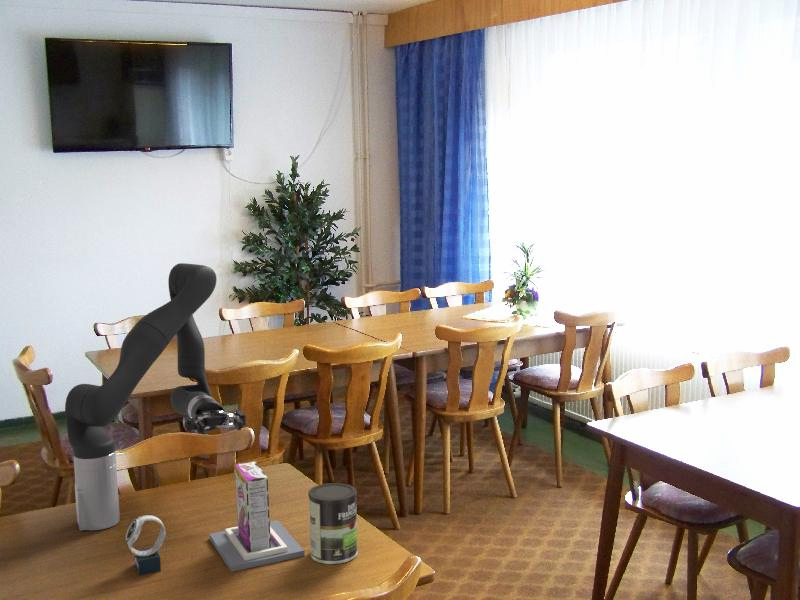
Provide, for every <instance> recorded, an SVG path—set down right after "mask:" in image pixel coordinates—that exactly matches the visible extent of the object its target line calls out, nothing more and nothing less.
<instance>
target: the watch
mask: <svg viewBox="0 0 800 600" xmlns="http://www.w3.org/2000/svg"><path fill="white" fill-rule="evenodd" d="M150 521H152V522H153V521H154V522H156V523H158V524H160V525H161V527H160V531H159V534H158V537H157V538H156V541H155V542H154V546H150V547H145V548H140V549H136V548H134V547H133V544H135V542H136V541H137V540H138V538H139V537H140V534H141V531H142V528H143V525H144V524H145V522H150ZM166 535H167V532H166V527H165V525H164V523H163V521H162V520H161V519H160V518H159V517H157V516H155V515H148V514H146V515H142V516H141V515H140V516H138V518H134V519H133V520H132V521H131V522H130V524H129V526H128V528H127V530H126V533H125V537H124V539H125V540H124V541H125V543H127V546H128V549H129V550H130V551H131V553H132V554H133V555H134V566H135V568H136V571H137V573H138V575H139V576H143V575H149V574H154V573H158V572H161V571H162V570H161V567H162V565H161V555H160V554H159V551H160V548H161V547H162V545H163V544H164V541H165V539H166V537H167V536H166Z"/></svg>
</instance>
